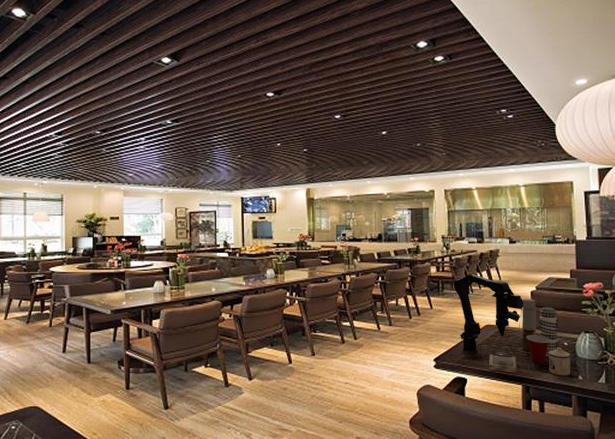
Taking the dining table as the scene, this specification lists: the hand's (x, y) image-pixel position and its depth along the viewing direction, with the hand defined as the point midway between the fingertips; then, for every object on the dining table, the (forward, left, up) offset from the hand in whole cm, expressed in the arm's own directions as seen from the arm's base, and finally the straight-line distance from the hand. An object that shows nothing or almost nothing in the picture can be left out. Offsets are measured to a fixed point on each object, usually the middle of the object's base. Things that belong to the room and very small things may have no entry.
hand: (502, 335), depth 228 cm
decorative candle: (+23, +18, -12) cm, 32 cm away
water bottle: (+14, +42, -12) cm, 46 cm away
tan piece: (0, -11, -12) cm, 17 cm away
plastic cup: (+17, +3, -12) cm, 21 cm away
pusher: (0, -17, -12) cm, 21 cm away
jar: (0, -12, -12) cm, 17 cm away
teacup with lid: (+25, -14, -12) cm, 31 cm away
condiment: (+13, +21, -12) cm, 28 cm away
